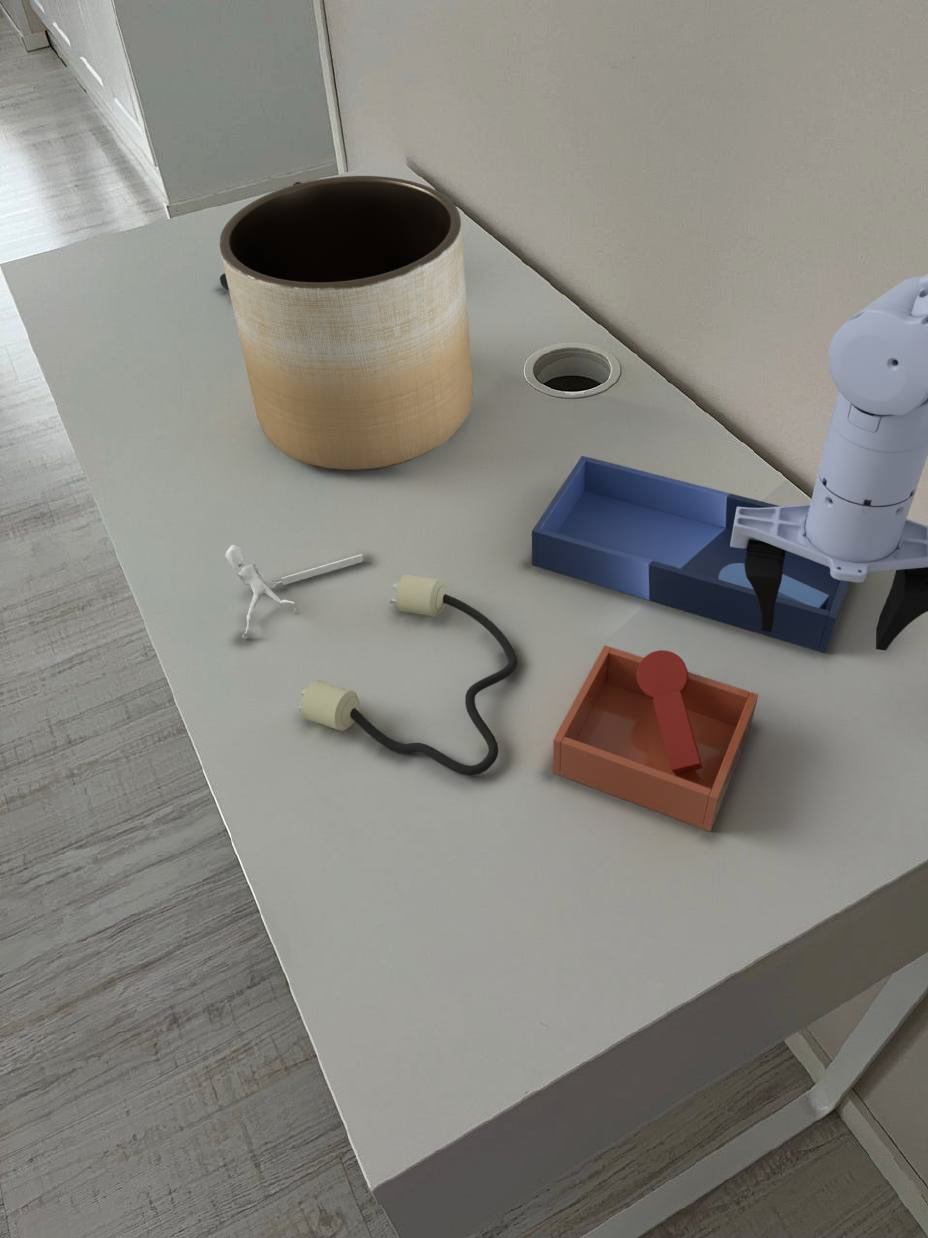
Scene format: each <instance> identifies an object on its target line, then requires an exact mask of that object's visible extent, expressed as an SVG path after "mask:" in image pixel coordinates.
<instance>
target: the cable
mask: <svg viewBox="0 0 928 1238" xmlns="http://www.w3.org/2000/svg"><path fill="white" fill-rule="evenodd" d="M392 589H394V590H395V598H391V599H389V602H390V604H391V605H393V606H396V608H397V609H398V611H400V612H404V613H410V614H411V613H412V614H417V615H422V616H429V617H434V618H435V617H438V616H439V615H440V614H441V613H443V611H444V609H445V608H446V606H447V605H448V606H450V607H452V608H454V609H457V610H458V611H461V612H462V613H464V614H466V615H467V616H469V617H470V618H472V619H474V620H475V621H476V622H478V623H479V624H480V625H482V627H484V628H485V629H486V630H487V631H488V632H489V633H490V634H491V635H492V637H494V638H495V640H496V641H497V643H499V645H500V647H501V648H502V649H503V652H504V654H505V656H506V659H507V661H508V662H507V664H506V665H505V666H504V667H503V668H502V669H500V670H498V671H496V672H494V673H493V674H491V675H489V676H486V677H484V678H482V679H480V680H478V681H476V682H475V683H473V684H472V685H471V686H470V687H469V688H468V689H467V691H466V693H465V699H464V701H465V703H464V704H465V708H466V712H467V714H468V716H469V718H470V721H472V723H473V725H474V726H475V728H476V729H477V730H478V733H480V735H481V736H482V738H483V740H484V741H485V743H486V745H487V749H488V750H487V751H488V753H487V755H486V756H485V757H484V758H483V759H482V760H481V761H480V762H479V763H476V764H473V765H469V764H465V763H461V762H459V761H457V760H455V759H453V758H451V757H449V756H448V755H446V754H445V753H443V752H441V751H440V750H438V749H436V748H434V747H432V746H430V745H429V744H426V743H424V742H423V743H422V742H409V743H405V742H400V741H397V740H395V739H392V738H391V737H389V736H387V735H386V734H385V733H383V732H382V731H381V730H380V729H378V728H377V727H376V726H375V725H374V724H373V723H371V722H370V721H369V720H368V719H367V718H366V717H365V715H363V714H362V713H361V712H360V709H361V705H360V699H359V696H358V694H357V692H355V691H354V690H351V689H347V688H344V687H342V686H338V685H335V684H333V683H329V682H326V681H322V680H319V679H318V680H314V681H313V682H311V683H310V684H309V685H308V686H307V688H303V690H302V691H301V692H300V695H301V696H302V699H301V703H300V705H298V706H296V709H297V711H299V712H300V713H301V715H302V717H303V718H304V719H306V720H307V721H311V722H313V723H316V724H320V725H322V726H325V727H328V728H331V729H334V730H337V731H343V732H344V731H346V730H348V729H349V728H350V727H351V726H352V725H353V724H354V723H356V724H357V725H358V726H359V727H360V728H361V729H362V730H363V731H364V732H365V733H367V734H368V735H369V736H370V737H371V738H373V740H375V741H376V742H377V743H379V744H381V745H382V746H383V747H385V748H387V749H388V750H390V751H393V752H396V753H399V754H415V753H419V754H422V755H425V756H427V757H428V758H431V759H432V760H434V761H435V762H437V763H439V765H442V766H444V768H446V769H449V770H450V771H453V772H454V773H458V774H459V775H463V776H470V777H471V776H477V775H480V774H482V773H484V772H486V771H488V770H489V769H490V768H491V766H493V764H494V763H495V762H496V760H497V758H498V756H499V745H498V741H497V739H496V737H495V735H494V734H493V732H492V731H491V729H490V728H489V726H488V725H487V724H486V722H485V720H484V719H483V718H482V716H481V714H480V713H479V711H478V708H477V705H476V701H475V700H476V695H477V694H478V693H480V692H481V691H483V690H485V689H487V688H489V687H491V686H493V685H495V684H498V683H499V682H501V681H503V680H505V679H506V678H508V677H509V676H510V675H512V674H513V673H514V672H515V670H516V668H517V666H518V657H517V654H516V652H515V649H514V647H513V646H512V644H511V642H510V641H509V639H508V638H507V637H506V635H505V634H504V633H503V631H502V630H501V629H500V628H499V627H498V626H497V625H496V624H495V623H494V622H493V621H492V620H491V619H489V618H488V617H487V616H485V615H484V614H483V613H482V612H480V611H479V610H477V609H476V608H474V607H472V606H471V605H469V604H468V603H466V602H464V601H462V600H460V599H457V598H456V597H453V596H451V595H449V594H448V588H447V586H446V584H445V583H444V580H442V579H439V578H434V577H433V578H432V577H427V576H420V575H412V574H403V575H402V577H401V578H400V579H399V581H398V582H396V583H393V585H392Z"/></svg>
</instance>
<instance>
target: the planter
mask: <svg viewBox="0 0 928 1238" xmlns="http://www.w3.org/2000/svg"><path fill="white" fill-rule="evenodd" d="M462 227H463V226H462V218H461V214H460V211H459V209H458V208H457V206H456V205H455V203H454V202H453V201H452V200H451V199H450V198H449V197H447V195H445V194H443V193H442V192H440V191H438V190H436V189H434V188H432V187H430V186H427V185H425V184H422V183H419V182H416V181H411V180H407V179H404V178H398V177H390V176H380V175H379V176H378V175H348V176H345V175H344V176H333V177H326V178H319V179H314V180H310V181H305V182H301V183H300V184H296V185H294V184H293V185H290V186H287V187H284V188H281V189H280V188H279V189H278V190H275V191H272V192H270V193H268V194H265V195H263V196H261V197H259V198H257V199H255V200H254V201H252V202H250V203H248V204H247V205H245V206H244V207H242V208H241V209H240V210H239V211H237V212H236V213H235V214H233V215H232V216H231V218H230V219H229V220H228V221H227V222H226V224H225V225H224V227H223V228H222V230H221V232H220V237H219V241H218V245H219V246H218V247H219V252H220V257H221V262H222V265H223V270H224V273H225V275H226V279H227V283H228V288H229V291H228V292H229V296H230V301H231V305H232V309H233V314H234V317H235V323H236V327H237V332H238V336H239V341H240V345H241V350H242V354H243V359H244V364H245V369H246V373H247V378H248V382H249V387H250V392H251V396H252V401H253V404H254V409H255V410H254V411H255V413H256V417H257V420H258V422H259V425H260V427H261V430H262V432H263V434H264V436H265V438H266V439H267V440H268V441H269V443H271V444H272V445H273V447H275V448H276V449H277V450H279V451H280V452H281V453H283V454H284V455H287V456H288V457H290V458H291V459H294V460H296V461H299V462H302V463H304V464H307V465H311V466H315V467H318V468H324V469H329V470H330V469H331V470H337V471H369V470H377V469H383V468H388V467H392V466H396V465H399V464H400V465H401V464H403V463H407V462H409V461H412V460H414V459H416V458H419V457H421V456H423V455H426V454H428V453H429V452H431V451H434V450H435V449H437V448H438V447H439V446H441V445H442V444H444V443H445V442H447V441H448V440H449V439H450V438H452V436H454V434H456V432H457V431H458V430H459V429H460V428H461V427H462V426H463V424H464V422H465V421H466V419H467V418H468V416H469V414H470V411H471V407H472V401H473V387H474V386H473V370H472V355H471V343H470V342H471V341H470V330H469V329H470V328H469V318H468V317H469V316H468V304H467V301H468V300H467V288H466V287H467V286H466V275H465V274H466V273H465V257H464V242H463V241H464V240H463V239H464V238H463V228H462Z"/></svg>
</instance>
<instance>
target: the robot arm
mask: <svg viewBox="0 0 928 1238" xmlns="http://www.w3.org/2000/svg"><path fill="white" fill-rule="evenodd" d="M827 355H828V357H827V361H828V362H827V363H828V370H829V373H830V377H831V379H832V381H833V383H834V385H835V387H836V389H837V393H836V397H835V401H834V404H833V407H832V411H831V416H830V420H829V425H828V428H827V433H826V436H825V441H824V445H823V449H822V453H821V457H820V461H819V466H818V471H817V475H816V478H815V479H816V480H815V483H814V486H813V487H814V488H813V492H812V495H811V499H810V503H807V504H806V503H805V504H793V505H779V506H780V507H768V508H747V507H737V508H736V514H735V520H734V525H733V531H732V537H731V543H730V547H735V548H741V549H745V548H747V551H746V558H745V565H744V567H745V573H746V577H747V579H748V580H749V582H750V583H751V585H752V587H753V589H754V591H755V594H756V596H757V599H758V603H759V607H760V612H761V630H762V631H766V632H771V630H772V626H773V619H774V610H775V602H776V598H777V594H778V591H779V588H780V584H781V581H782V573H783V564H784V560H785V551H789V552H791V553H794V554H797V555H799V556H802V557H804V558H807V559H810V560H812V561H815V562H817V563H820V564H822V565H825V566H828V567H829V568H830V574H831V576H832V577H833V578H834V579H837V580H842V581H849V582H850V583H855V584H856V583H859V584H860V583H864V582H865V581H866V579H867V575H868V573H878V572H888V571H889V572H890V571H895V573H894V577H893V581H892V583H891V586H890V590H889V593H888V595H887V597H886V600H885V602H884V605H883V607H882V609H881V612H880V614H879V617H878V619H877V625H876V627H875V650H877V651H883V652H886V651H887V650H888V649H889V647H890V645H891V644H892V643H893V641H894V640H895V639H896V638H897V637H898V636H899V635H900V634H901V632H903V631H904V630H905V629H906V628H907V627H908V626H909V625H910V624H911V623H913V622H914V621H915V620H916V619H918V618H919V617H920V616H922V615H924V614H926V613H927V612H928V526H927V525H925V524H922V523H919V522H917V521H914V520H911V519H909V518H908V515H909V513H910V509H911V508H912V504H913V501H914V498H915V495H916V492H917V489H918V485H919V483H920V479H921V476H922V473H923V471H924V467H925V464H926V461H927V458H928V273H926V274H925V275H917V276H912V277H909V278H906V279H904V280H902V281H901V282H899V283H897V284H896V285H895V286H893V287H892V288H890V289H889V290H888V291H886V292H885V293H883V294H882V295H881V296H879V297H878V298H876V299H875V300H873V301H872V302H871V303H869V304H868V305H866V306H865V307H863V308H862V309H861V310H859V311H858V312H857V313H855V314H854V315H853V316H852V317H849V318H848V320H846V322H845V323H844V324H843V325H842V326H841V327H839V329H838V330H837V331H836V333H834V335H833V337H832V339H831V341H830V344H829V348H828V353H827Z"/></svg>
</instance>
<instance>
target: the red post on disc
mask: <svg viewBox="0 0 928 1238" xmlns="http://www.w3.org/2000/svg"><path fill="white" fill-rule="evenodd" d="M688 672H689V671H688V668H687V666H686V663H685V661H684V660H683V659H682V658H681V656H679V655H678V654H677V653H675V652H672V651H670V650H663V649H659V650H654V651H652V652H650V653H649V654H646V655H645V656H644V657H643V660H642V661H641V662H640V664H639V666H638V669H637V681H638V684H639V686H640V688H641V690H642V691H643V693H644V694H645V695H646V696H647V697H649V698H650V699H652V700H653V702H654V705H655V709H656V713H657V717H658V720H659V724H660V728H661V732H662V735H663V739H664V743H665V747H666V751H667V754H668V758H669V762H670V766H671V769H672V771H673V772H674V774H675V775H676V774H681V773H685V772H689V771H693V770H697V769H701V768H702V764H701V760H700V756H699V753H698V749H697V746H696V742H695V738H694V735H693V731H692V727H691V724H690V720H689V716H688V713H687V709H686V706H685V702H684V698H683V696H682V694H683V692H684V691H685V689H686V687H687V685H688V679H689V676H688Z"/></svg>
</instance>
